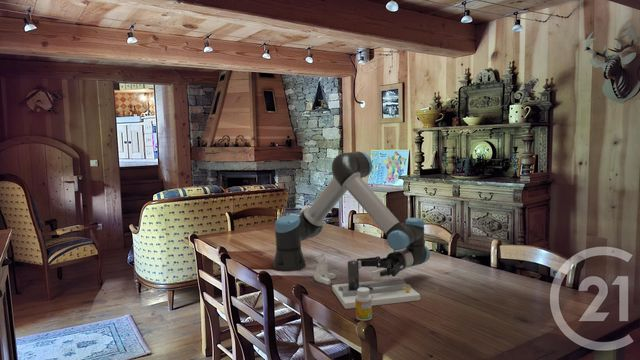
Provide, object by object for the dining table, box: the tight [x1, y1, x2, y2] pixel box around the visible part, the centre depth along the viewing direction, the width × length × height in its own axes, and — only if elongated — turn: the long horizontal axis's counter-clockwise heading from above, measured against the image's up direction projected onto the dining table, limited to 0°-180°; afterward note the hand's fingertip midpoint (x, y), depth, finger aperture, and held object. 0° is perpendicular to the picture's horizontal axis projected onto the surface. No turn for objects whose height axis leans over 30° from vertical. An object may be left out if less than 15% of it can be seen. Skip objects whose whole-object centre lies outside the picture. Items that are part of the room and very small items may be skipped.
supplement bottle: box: [355, 287, 373, 322], centre depth 146 cm, size 5×5×10 cm
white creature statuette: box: [313, 252, 337, 286], centre depth 184 cm, size 10×9×12 cm
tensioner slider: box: [342, 260, 374, 292], centre depth 162 cm, size 11×10×11 cm
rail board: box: [331, 277, 421, 310], centre depth 166 cm, size 28×20×4 cm
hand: (359, 271), depth 165 cm, fingers open, 13 cm apart
